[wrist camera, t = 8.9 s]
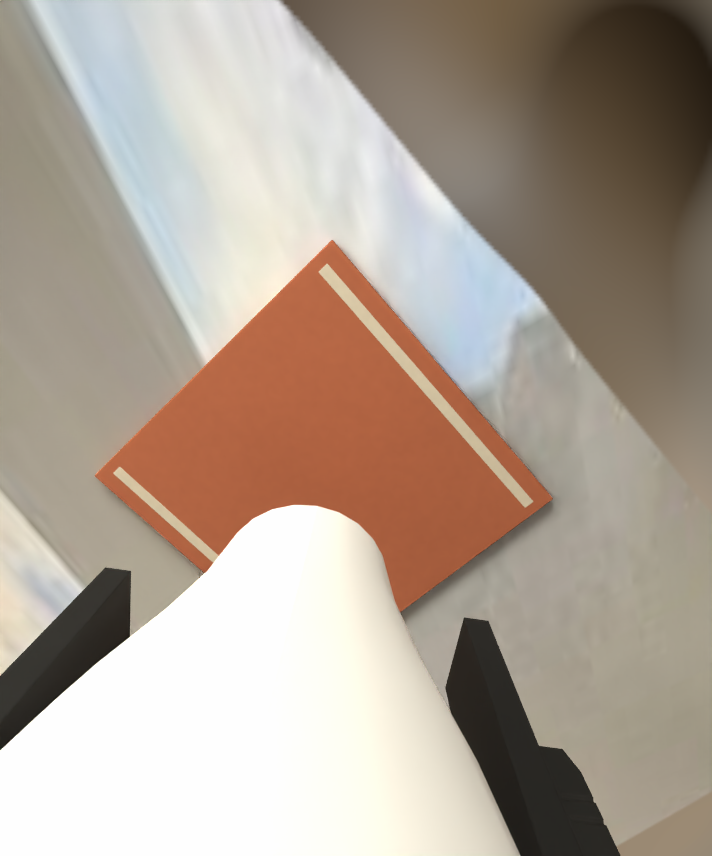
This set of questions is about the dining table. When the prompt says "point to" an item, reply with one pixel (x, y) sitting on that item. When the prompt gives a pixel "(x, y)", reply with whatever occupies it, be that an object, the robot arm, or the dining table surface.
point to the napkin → (328, 438)
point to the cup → (257, 722)
